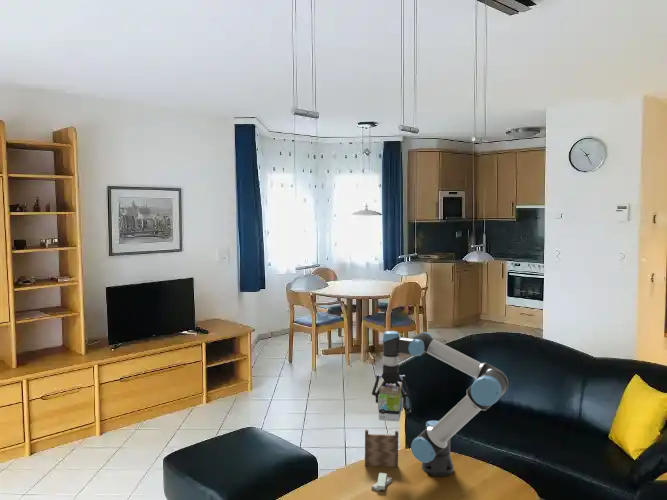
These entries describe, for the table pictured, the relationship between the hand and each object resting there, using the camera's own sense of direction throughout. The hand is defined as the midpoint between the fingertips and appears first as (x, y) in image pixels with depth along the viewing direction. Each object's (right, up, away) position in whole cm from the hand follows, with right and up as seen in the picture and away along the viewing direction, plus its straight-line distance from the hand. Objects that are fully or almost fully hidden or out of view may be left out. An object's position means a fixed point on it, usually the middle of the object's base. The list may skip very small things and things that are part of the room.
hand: (390, 409), depth 264 cm
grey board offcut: (-5, -30, -14) cm, 34 cm away
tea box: (0, -3, 0) cm, 3 cm away
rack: (-4, -29, +6) cm, 30 cm away
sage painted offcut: (-5, -29, -14) cm, 33 cm away
